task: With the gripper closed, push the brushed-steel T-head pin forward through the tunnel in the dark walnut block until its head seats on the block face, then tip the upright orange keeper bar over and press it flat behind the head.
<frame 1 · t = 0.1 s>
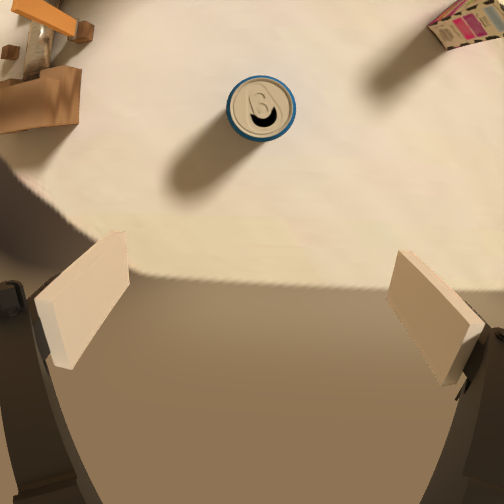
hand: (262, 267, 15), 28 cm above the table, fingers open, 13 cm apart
pin: (41, 32, 30), point 2 cm above the table, slide at 0.0 cm
hitch block: (42, 102, 36), on the table
beverage can: (259, 113, 38), on the table
candy bar box: (454, 23, 31), on the table
keeper bar: (49, 16, 23), point 11 cm above the table, hinge at 95.0°
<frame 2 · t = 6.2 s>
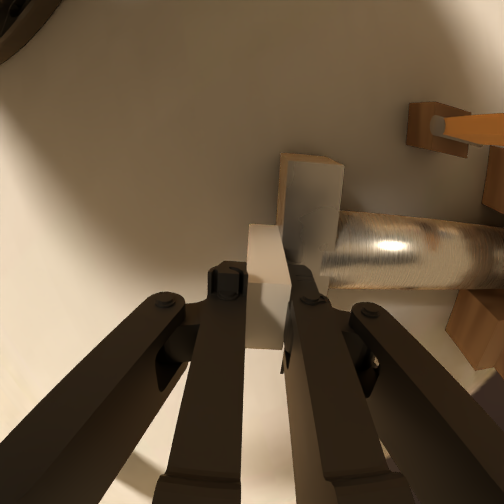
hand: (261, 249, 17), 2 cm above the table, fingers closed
pin: (431, 254, 16), point 2 cm above the table, slide at 2.0 cm, touching gripper
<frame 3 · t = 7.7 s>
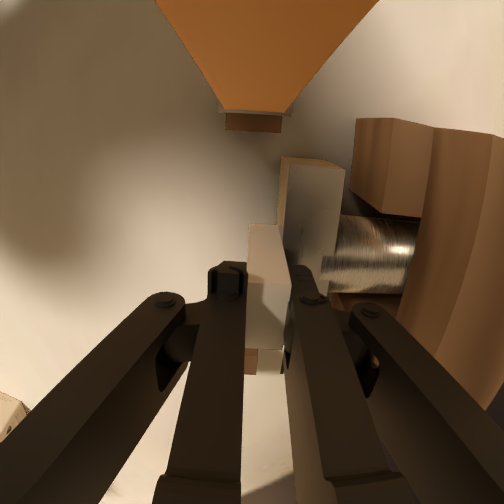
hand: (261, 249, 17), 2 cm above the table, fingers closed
pin: (430, 258, 16), point 2 cm above the table, slide at 12.0 cm
hitch block: (401, 244, 19), on the table
keeper bar: (258, 50, 6), point 11 cm above the table, hinge at 95.0°
ink box: (17, 414, 27), on the table
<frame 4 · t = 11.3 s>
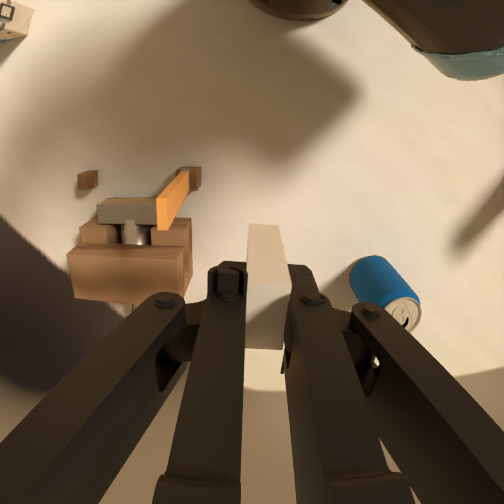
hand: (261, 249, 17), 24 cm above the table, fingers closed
pin: (139, 266, 42), point 2 cm above the table, slide at 13.2 cm
hitch block: (142, 245, 43), on the table
beverage can: (368, 273, 45), on the table
keeper bar: (176, 193, 30), point 11 cm above the table, hinge at 95.0°
ink box: (14, 26, 30), on the table
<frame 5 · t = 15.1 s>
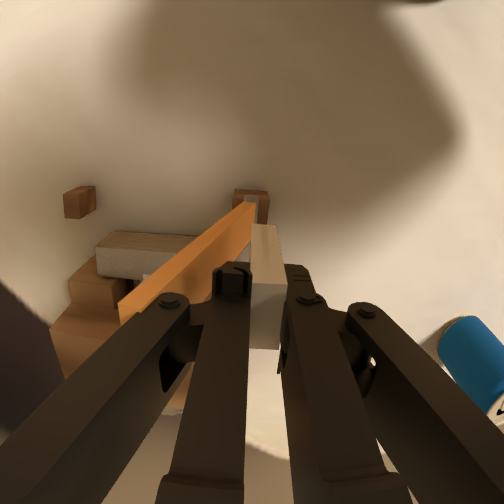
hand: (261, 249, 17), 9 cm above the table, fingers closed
pin: (161, 336, 28), point 2 cm above the table, slide at 13.2 cm
hitch block: (165, 302, 29), on the table
beverage can: (456, 334, 31), on the table
keeper bar: (215, 253, 16), point 10 cm above the table, hinge at 76.1°, touching gripper, hand
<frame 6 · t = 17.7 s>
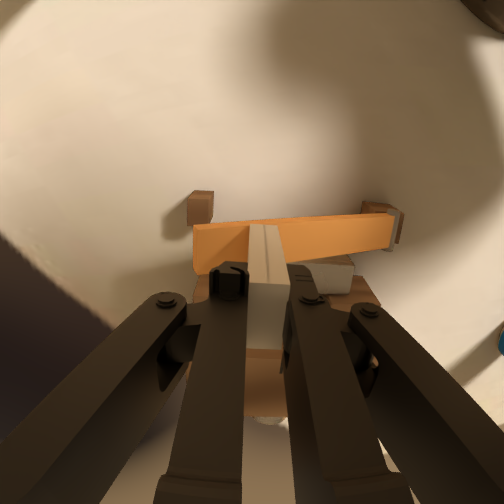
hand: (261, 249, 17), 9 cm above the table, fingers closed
pin: (278, 346, 28), point 2 cm above the table, slide at 13.2 cm
hitch block: (280, 311, 29), on the table
keeper bar: (316, 237, 19), point 7 cm above the table, hinge at 26.0°, touching gripper
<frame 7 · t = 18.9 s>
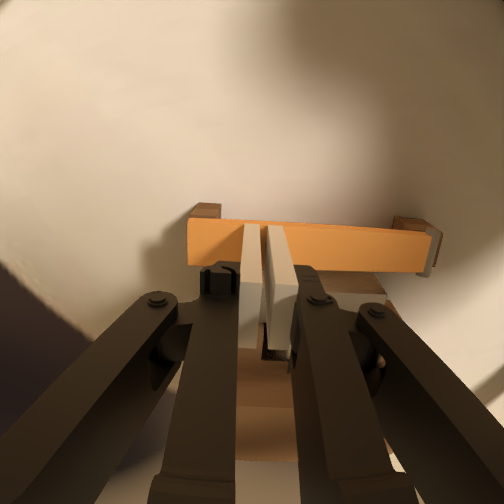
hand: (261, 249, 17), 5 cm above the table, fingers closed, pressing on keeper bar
pin: (294, 379, 24), point 2 cm above the table, slide at 13.2 cm
hitch block: (296, 340, 25), on the table
keeper bar: (326, 247, 18), point 4 cm above the table, hinge at 4.5°, touching gripper
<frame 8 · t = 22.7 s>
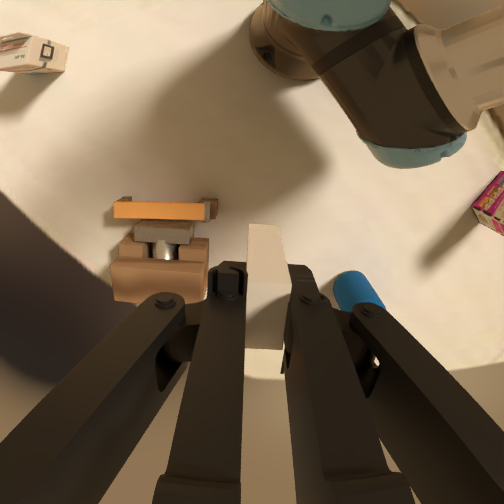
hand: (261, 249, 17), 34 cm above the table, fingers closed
pin: (165, 275, 53), point 2 cm above the table, slide at 13.2 cm
hitch block: (168, 258, 55), on the table
beverage can: (349, 284, 57), on the table
candy bar box: (490, 196, 50), on the table
keeper bar: (160, 210, 47), point 4 cm above the table, hinge at 4.3°
ink box: (50, 60, 41), on the table
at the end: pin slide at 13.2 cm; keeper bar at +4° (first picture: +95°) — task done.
